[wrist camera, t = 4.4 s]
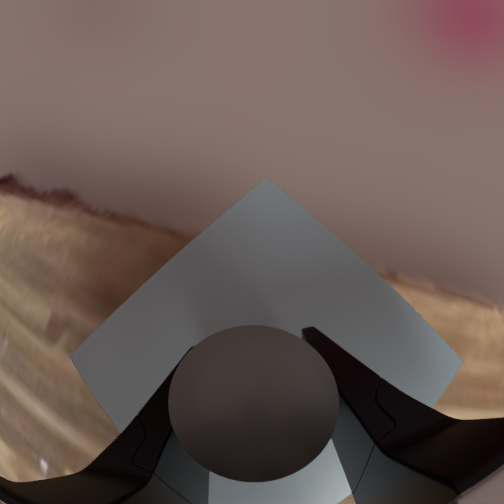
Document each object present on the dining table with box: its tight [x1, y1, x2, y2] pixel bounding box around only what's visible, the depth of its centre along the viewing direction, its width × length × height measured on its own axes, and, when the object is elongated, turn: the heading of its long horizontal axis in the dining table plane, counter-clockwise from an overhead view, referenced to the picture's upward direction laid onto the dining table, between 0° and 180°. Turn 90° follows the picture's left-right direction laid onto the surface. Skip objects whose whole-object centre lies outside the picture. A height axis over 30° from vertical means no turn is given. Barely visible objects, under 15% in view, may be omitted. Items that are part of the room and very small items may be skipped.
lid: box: [69, 178, 463, 504], centre depth 9 cm, size 14×14×9 cm
